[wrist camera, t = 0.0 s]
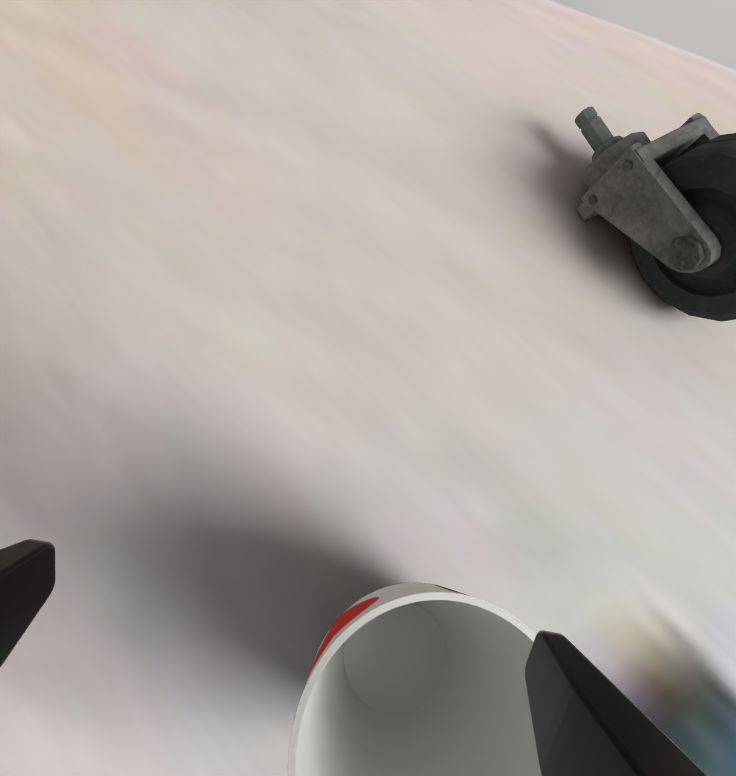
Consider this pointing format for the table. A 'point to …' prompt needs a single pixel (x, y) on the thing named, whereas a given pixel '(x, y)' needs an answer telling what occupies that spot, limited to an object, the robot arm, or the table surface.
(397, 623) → the cup
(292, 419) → the table surface
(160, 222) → the table surface
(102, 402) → the table surface
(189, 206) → the table surface
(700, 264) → the caster wheel
